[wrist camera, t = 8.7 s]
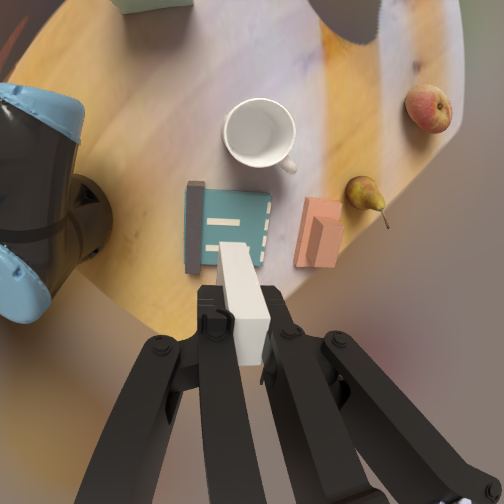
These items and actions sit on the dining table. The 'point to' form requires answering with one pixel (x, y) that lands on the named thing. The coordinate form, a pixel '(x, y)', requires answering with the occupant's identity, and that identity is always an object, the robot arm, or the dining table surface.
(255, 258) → the striped teal tile
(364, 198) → the fruit
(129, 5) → the pale teal hollow box
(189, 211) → the grey end rail
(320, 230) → the stub
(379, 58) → the dining table surface
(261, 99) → the mug
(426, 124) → the apple
